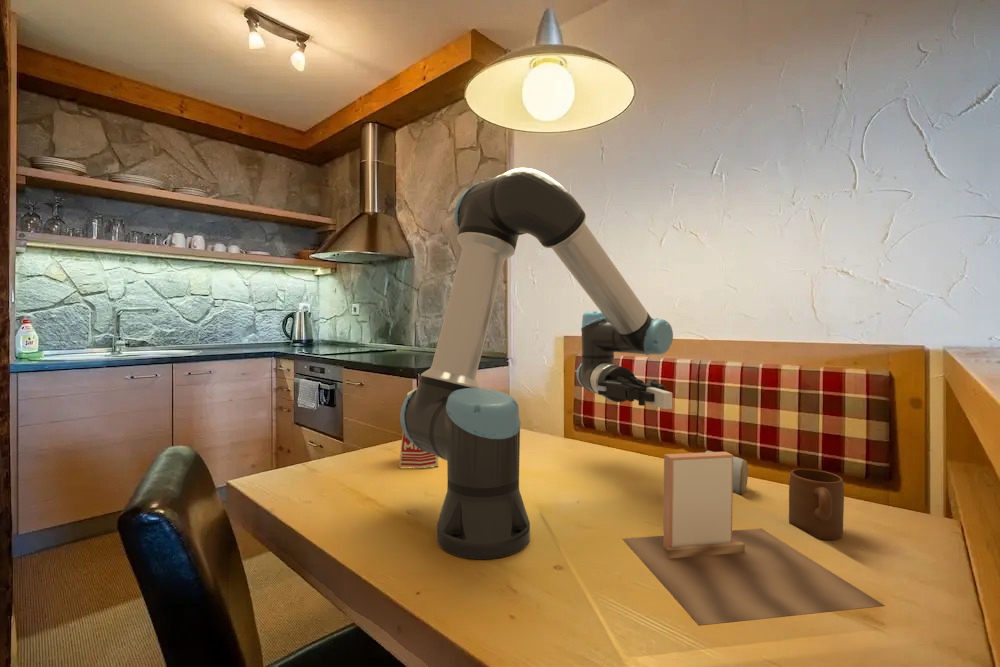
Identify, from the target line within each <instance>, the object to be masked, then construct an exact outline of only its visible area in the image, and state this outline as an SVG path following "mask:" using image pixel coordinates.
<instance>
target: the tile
mask: <svg viewBox="0 0 1000 667" xmlns="http://www.w3.org/2000/svg"><path fill="white" fill-rule="evenodd" d="M705 452H706V451H705ZM705 452H690V453H687V452H686V453H669V454H668V453H666V454H664V455H663V521H662V522H663V524H662V525H663V529H662V530H663V531H662V532H663V534H662V536H663V547H664V548H665V549H666V548H668V547H680V546H693V545H706V544H719V543H732V531H733V495H734V492H733V456H734V455H733V454H731V453H730V452H727V451H712V452H706V453H705Z"/></svg>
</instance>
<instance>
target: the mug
mask: <svg viewBox="0 0 1000 667" xmlns="http://www.w3.org/2000/svg"><path fill="white" fill-rule="evenodd" d="M843 479H844V478H842V477H841V476H839V475H837V474H834V473H832V472H829V471H825V470H821V469H820V470H819V469H815V468H814V469H812V468H794V469H792V470H790V473H789V481H788V482H789V483H788V485H789V486H788V523H789V525H792V526H793V527H794V528H796V529H798V530H800V531H802V532H804V533H805V534H807V535H809V536H811V537H812V538H814V539H817V540H825V541H826V540H828V541H829V540H830V541H832V540H837V539H840V538H841V537H842V536H843V533H844V512H845V511H844V509H845V507H844V506H845V505H844V504H845V503H844V502H845V489H844V480H843Z"/></svg>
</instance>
